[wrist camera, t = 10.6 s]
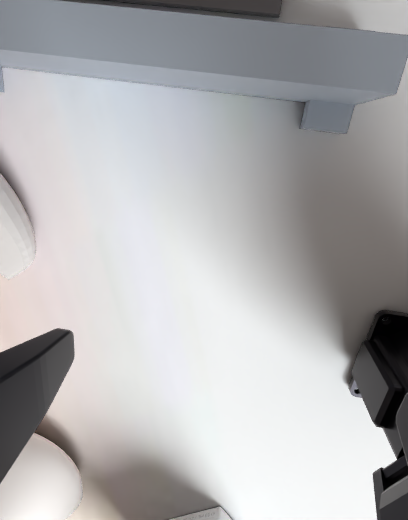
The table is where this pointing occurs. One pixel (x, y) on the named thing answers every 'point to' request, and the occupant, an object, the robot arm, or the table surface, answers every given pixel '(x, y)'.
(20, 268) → the game controller
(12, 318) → the table surface
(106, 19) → the screen
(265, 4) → the mat
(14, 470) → the flower in vase
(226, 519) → the skincare box
